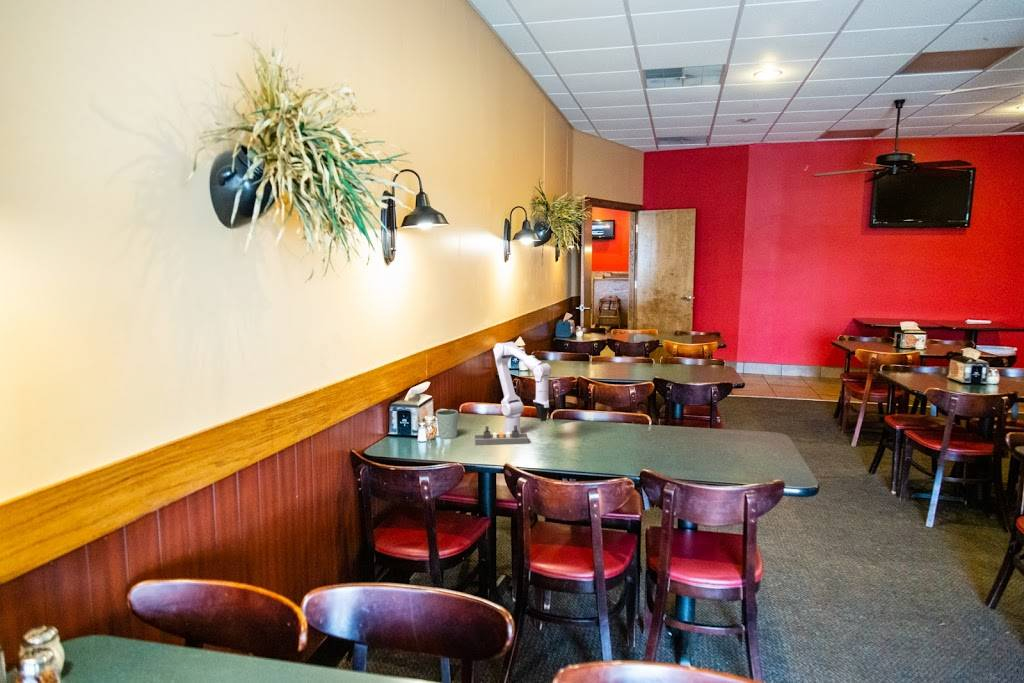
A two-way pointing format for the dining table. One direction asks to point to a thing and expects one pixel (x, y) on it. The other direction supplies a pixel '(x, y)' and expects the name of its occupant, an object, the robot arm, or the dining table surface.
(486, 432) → the cord plug
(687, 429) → the dining table surface
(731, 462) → the dining table surface
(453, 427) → the gray cup
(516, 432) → the cord plug
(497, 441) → the strip
